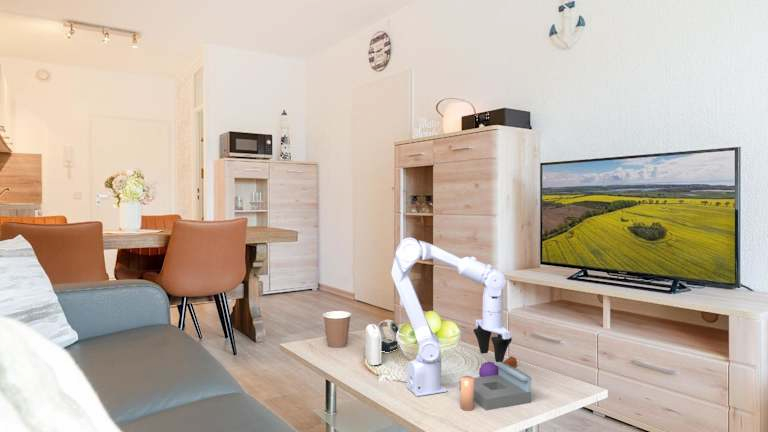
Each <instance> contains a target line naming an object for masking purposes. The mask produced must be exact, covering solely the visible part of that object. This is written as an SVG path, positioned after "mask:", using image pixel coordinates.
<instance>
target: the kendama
mask: <svg viewBox="0 0 768 432" xmlns="http://www.w3.org/2000/svg"><path fill="white" fill-rule="evenodd" d="M503 362H504V363H506V364H508V365H510V366H512V367H514V368H515V367H516V366H517V364H518V360H517V359H516V357H514V356H508V357H507V359H505V360H503ZM498 368H499V367H498V366H497V365H495V364H494V362H492V361H486V362H483V363H482V364H481V365H480V367H479V376H480V377H485V376H492V375H498Z"/></svg>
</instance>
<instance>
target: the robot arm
mask: <svg viewBox="0 0 768 432" xmlns="http://www.w3.org/2000/svg"><path fill="white" fill-rule="evenodd" d="M394 253H395V254H394V259H393V262H392V268H391V278H392V280H393V283H394V285H395V287H396V290H397V292H398V295H399V297H400V299H401V302H402V305H403V307H404V309H405V312H406V315H407V317H408V319H409V322H410V324H411V326H412V327H411V328H412V329H413V332H414V335H415V338H416V341H417V346H418V353H417V355H416V357H415V358H414V359H412V360H410V361H408V363H407V368H406V385H405V386H406V388H407V389H409V391H410V392H412V393H413V394H414V395H415V396H416V397H420V396H422V397H423V396H428V395H434V394H440V393H446V392H447V391H448V390H447V389H446V388H445V387H444V386H442V356H441V355H442V354H441V353H442V350H441V346H440V341H439V337H438V336H437V335H436V334H435V333H434V332H433V331H432V328H431V326H430V325H429V324H430V323H429V322H428V320H427V317H426V315H425V312H424V310H423V307H422V305H421V303H420V299H419V297H418V295H417V293H416V289H415V288H414V284H413V283H412V280H411V278H410V275H409V274H410V272H411V270H412V267H413V266H414V265H415V264H416V263H417V261H418V260H420V259H421V260H422V261H424V260H425V261H426V260H430V259H433V260H435V261H438V262H439V263H440V262H441V263H442V264H444V265H447V266H449V267H453V268H455V269H457V272H458V275H460V276H461V277H464V278H466V279H468V280H471V281H473V282H475V283H477V284H483V291H482V292H483V294H482V309H481V310H482V312H481V313H482V315H481V316H482V317H481V318H482V319H475V327H477V328H474V329H473V333H474V335H475V337H476V339H477V342H478V347H479V352H480V354H482V355H484V354H485V355H486V354H488V353H489V350H490V349H489V347H490V341H492V344H493V349H494V350H493V351H494V360H495V361H494V362H502V361H503V362H504V358H505V356H506V352H507V350H508V347H509V345H510V344H511V342H512V341H513V339H512V337H511V331H509V330H508V329H507V328H506V324H504V322H503V321H504V320H503V315H504V313H503V312H504V287H505V286H506V284H507V280H506V278H505V275H504V273H503V272H501V271H500V270H499V269H498V268H496V267H494V266H492V265H491V264H490V263H487V264H486V263H483V262H481V261H480V260H477V257H475V256H471V257H470V256H465V257H462V258H461V257H459V256H457V255H455V254H453V253H451V252H448V251H446V250H444V249H442V248H440V247H438V246H436V245H434V244H432V243H429V242H426V241H422V240H417V239H416V238H414V237H406V238H404V239H402V240H401V242H400V243H399V244H398V246H397V248H396V251H395V252H394ZM492 334H494V335H496V336H492Z"/></svg>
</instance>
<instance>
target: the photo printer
mask: <svg viewBox="0 0 768 432" xmlns="http://www.w3.org/2000/svg"><path fill="white" fill-rule="evenodd" d="M364 337H365V343H364V344H365V347H364V348H365V358H366V360H367V362H368V364H369V365H370V366H372V365H375V364H379V363H381V364H382V352H381V342H382V340H381V332H380V330H379V328H378V325H377V324H374V323H372V324H371V323H370V324H367V326H366V327H365V336H364Z"/></svg>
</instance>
